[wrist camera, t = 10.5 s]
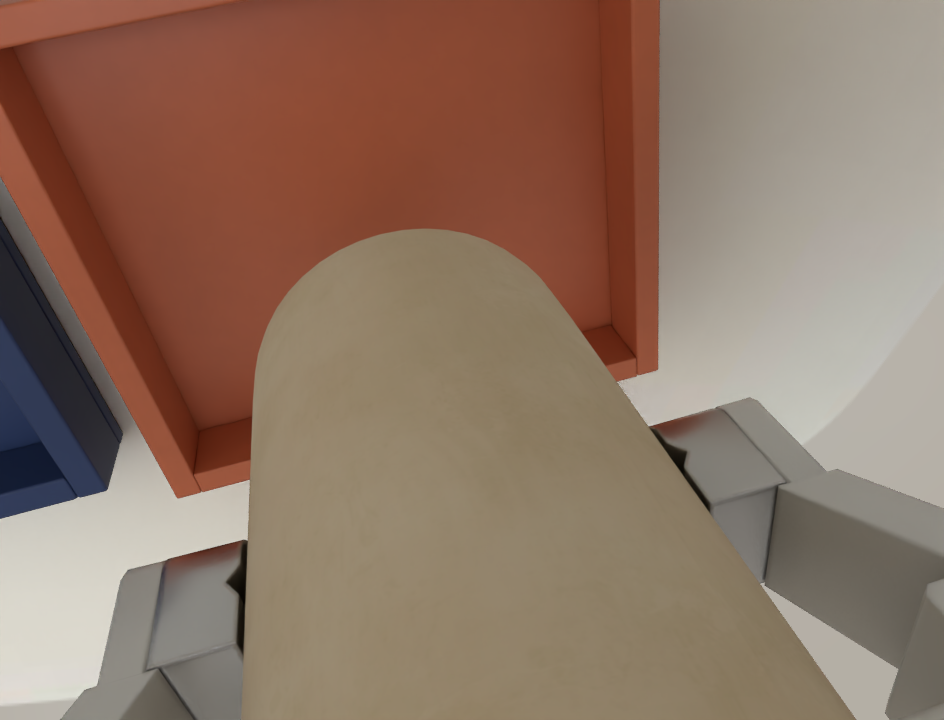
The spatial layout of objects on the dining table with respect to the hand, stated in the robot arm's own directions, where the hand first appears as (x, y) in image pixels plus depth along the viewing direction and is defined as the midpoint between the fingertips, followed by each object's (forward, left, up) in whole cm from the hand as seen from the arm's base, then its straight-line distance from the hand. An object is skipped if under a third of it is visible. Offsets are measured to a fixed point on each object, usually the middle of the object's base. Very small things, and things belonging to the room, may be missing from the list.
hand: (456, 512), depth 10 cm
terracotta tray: (0, 0, -12) cm, 12 cm away
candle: (0, 0, -4) cm, 4 cm away
